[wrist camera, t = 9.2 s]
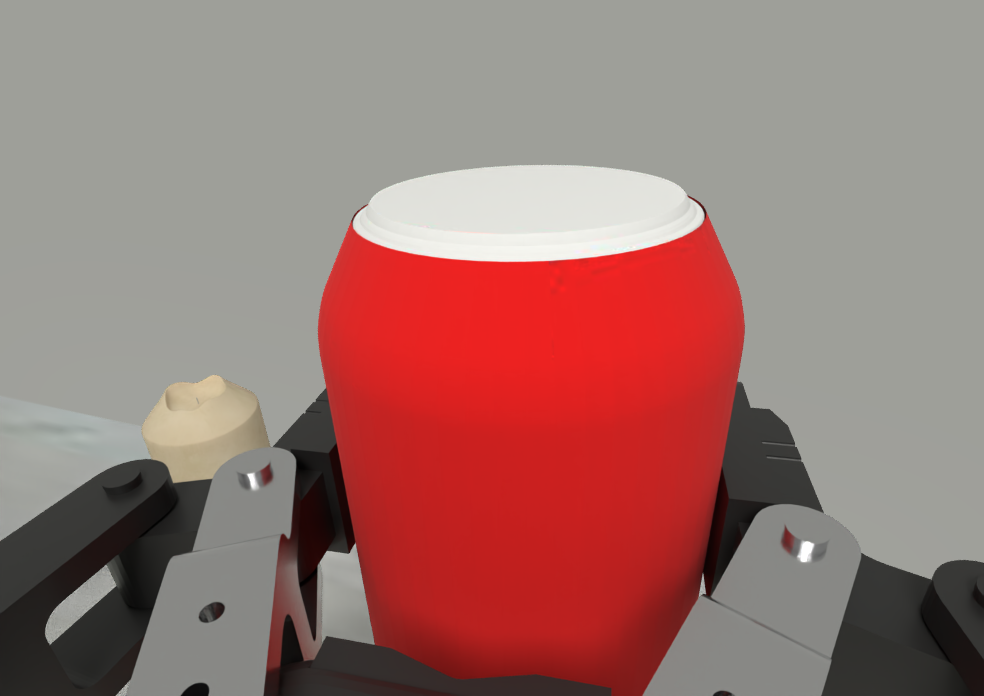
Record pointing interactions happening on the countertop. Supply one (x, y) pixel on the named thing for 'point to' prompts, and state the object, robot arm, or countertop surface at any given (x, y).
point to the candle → (203, 427)
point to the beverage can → (532, 415)
